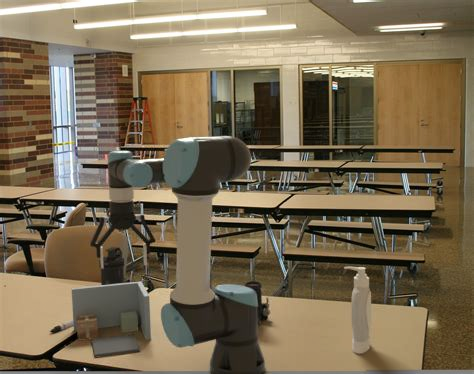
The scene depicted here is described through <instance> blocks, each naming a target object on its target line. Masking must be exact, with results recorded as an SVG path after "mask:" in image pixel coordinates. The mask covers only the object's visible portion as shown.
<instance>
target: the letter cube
mask: <svg viewBox="0 0 474 374" xmlns="http://www.w3.org/2000/svg"><path fill="white" fill-rule="evenodd" d="M76 333H77V339H86V340H90V339H89V338H94V339H96V338H99V337H98V328H97V318H96V314H91V315H82V316H77V331H76Z"/></svg>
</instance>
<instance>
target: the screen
mask: <svg viewBox="0 0 474 374" xmlns="http://www.w3.org/2000/svg"><path fill="white" fill-rule="evenodd" d="M71 302H72V303H71V304H72V319H73V324H74V325H73V332H77V316H82V315H91V314H96V318H97V329H102V328H103V329H104V328H112V327H114V328H115V327H121V320H120V313H123V312H132V311H136V314H137V318H138V325H139V327H140V329H141V332H142V333H143V335H144V339H145V340H146V341H149V340H152V334H151V333H152V332H151V331H152V330H151V329H152V328H151V327H152V326H151V310H150V309H151V307H150V306H151V305H150V295H149V292H148V291H147V289H146V288H145V285H144V283H143V281H134V282H132V281H131V282H124V283H120V284H110V285H101V284H100V285H92V286H91V285H90V286H82V287H72V288H71Z"/></svg>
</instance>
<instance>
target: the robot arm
mask: <svg viewBox="0 0 474 374" xmlns="http://www.w3.org/2000/svg"><path fill="white" fill-rule="evenodd" d="M251 162H252V156H251V150H250V148H249V147H248V145H246V143H245V142H244V141H242V140H241V139H239V138H237V137H235V136H231V135H229V136H228V135H220V136H219V135H218V136H200V137H199V136H198V137H197V136H196V137H195V136H194V137H193V136H192V137H190V136H189V137H185V138H178V139H175V140H173V141H172V142H171V143H170V144H169V145H168V146H167V148H166V150H165V152H164V156H163V158H150V159H137V160H135V159H134V158H133V153H132V151H130V150H114V151H110V152H109V153H108V155H107V168H108V169H107V170H108V171H107V173H108V190H109V191H108V194H109V196H108V197H109V198H108V199H109V200H110V201H109V216H104V215H101V216H100V217H99V223H98V225H97V228H96V229H95V232H94V233H93V235H92V236H93V237H92V238H91V240H90V243H89V244H90V247H92V248H93V247H94V248H95V250H96V258H97V259H101V268H100V270H101V269H103V268H104V266H103V257H104V247H103V246H102V245H103V244H104V243H105V242H106V241H107V239H108V238H109V237H111V236H110V235H111V234H112V233H113V232H114V231H115V230H117V231H121V230H124V231H125V230H129V229H131V230H132V231H133V232H134V233H135V234H136V235H137V236H138V237H139V238H140V239H141V240H142V241H143V242H144V243H143V244H142V245H143V247H142V249H143V265H144V266H148V258H147V257H148V255H150V254H151V245H152V244H154V243H156V239H155V236H154V235H153V233H152V232H151V230H150V228H149V226H148V224H147V223H146V218H145V215H144V214H143V213H140V214H136V215H135V201H134V197H135V195H134V194H135V192H134V188H143V187H146V186H148V185H154V184H164V183H165V184H166V185H167V186H169V187H171V193H172V194H173V195H175V197H176V198H177V214H176V215H177V219H176V223H177V227H176V228H177V229H176V231H177V233H176V272H175V273H176V274H175V275H176V276H175V278H176V279H175V280H176V281H175V284H176V285H175V288H174V289H173V290H171V291H170V295H169V303H165V304H164V305H162V307H161V311H160V320H161V324H162V325H161V326H162V328H163V332H164V333H165V335H166V338H167V339H168V340H169V341H170V343H171V345H173V346H174V347H176V348H187V347H194V346H195V345H199V344H202V343H206V342H212V341H215V342H214V343H215V344H214V347H213V351H212V353H211V357H210V360H209V371H210V372H211V374H263V373H264V372H265V368H266V361H265V360H266V359H265V358H264V354H263V351H262V349H261V346H260V344H259V343H260V342H259V326H258V301H257V294H256V292H255V291H254V290H253V289H251V288H249V287H245V285H239V284H227V283H226V284H219V285H217V286H214V290H212V289H211V287H210V286H211V255H212V254H211V253H212V251H211V249H212V247H211V246H212V221H213V218H212V217H213V199H214V198H215V197H216V196H217V195H218V194H219V192H220V191H219V190H220V189H219V188H220V187H219V186H220V183H227V182H228V183H229V182H233V181H236V180H238V179H240V178H242V177H244V175H245V174H246V173H247V172H248V170H249V169H250V167H251V164H252V163H251ZM136 220H137V221H138V222H141V225H142V227H143V228H144V230H145V232H146V234H147V236H148V238H147V237H146V236H145V235H144V234H143V232H142V231H140V229H139V228H138V227H137V226H136V225H135V224H134V223H135V222H136ZM108 221H109V223H110V224H111V225H110V226H109V227H108V229H107V230H106V231H105V232H104V234H103V235H102V236H101V237H100V239H99V240H98V238H99V236H100V234H101V232H102V230H103V228H104V225H105V224H107V222H108Z"/></svg>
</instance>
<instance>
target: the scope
mask: <svg viewBox="0 0 474 374" xmlns="http://www.w3.org/2000/svg"><path fill="white" fill-rule="evenodd" d="M244 286H245V287H249V288H251V289H253V290H254V291H255V292H256V294H257V301H258V327H259V326H260V325H261V321H267V320H268V319H269V316H270V314H271V310H270V302H269V301H270V300H269V296H268V297H266V298H265V299H266V302H265V303H264V302H263V301H262V298H263V297H262V289H261V288H262V282H260V281H256V280H255V281H247V282H245V283H244Z"/></svg>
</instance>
